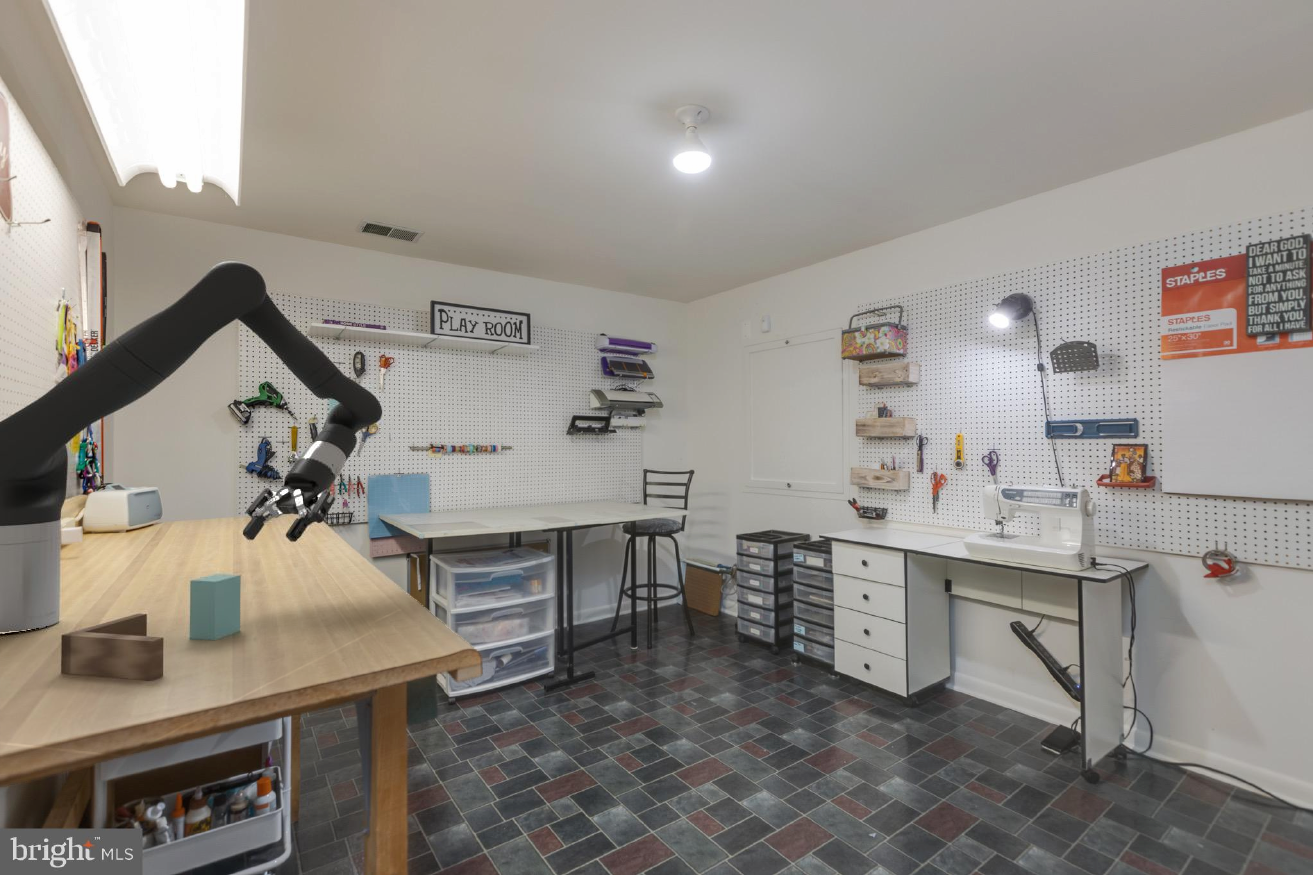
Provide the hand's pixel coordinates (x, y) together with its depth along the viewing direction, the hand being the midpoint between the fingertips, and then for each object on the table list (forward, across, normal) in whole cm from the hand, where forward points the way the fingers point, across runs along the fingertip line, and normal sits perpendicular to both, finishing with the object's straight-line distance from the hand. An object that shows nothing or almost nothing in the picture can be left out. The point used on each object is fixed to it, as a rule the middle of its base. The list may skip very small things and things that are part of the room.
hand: (268, 538), depth 103 cm
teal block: (+17, 0, +2) cm, 17 cm away
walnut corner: (+25, +1, -6) cm, 26 cm away
